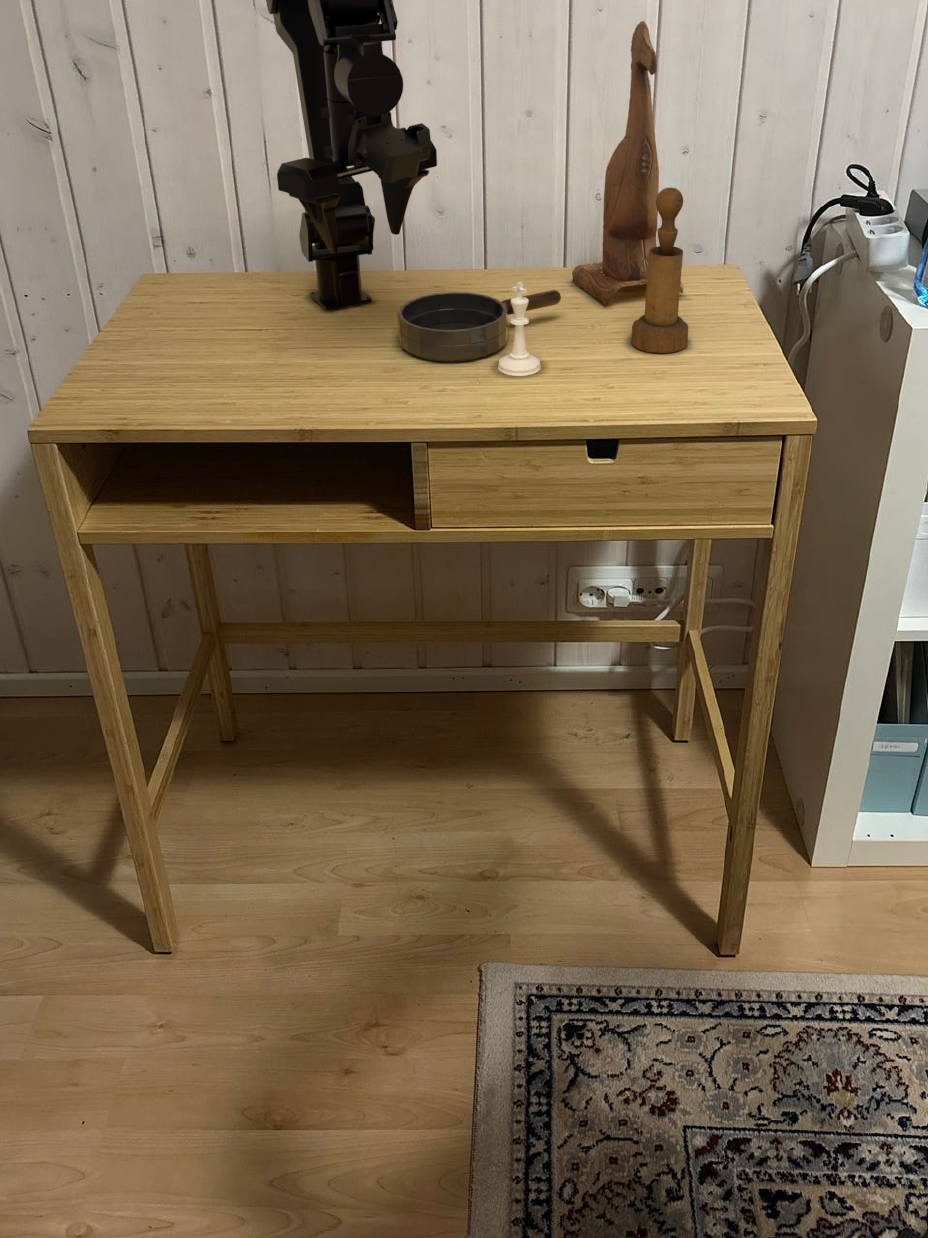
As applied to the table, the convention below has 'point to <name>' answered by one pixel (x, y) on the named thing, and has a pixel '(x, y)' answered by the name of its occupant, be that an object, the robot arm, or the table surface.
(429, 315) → the pan
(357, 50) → the robot arm
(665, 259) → the mortar and pestle
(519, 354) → the chess piece
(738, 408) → the table surface
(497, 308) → the pan handle
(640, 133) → the bird sculpture
